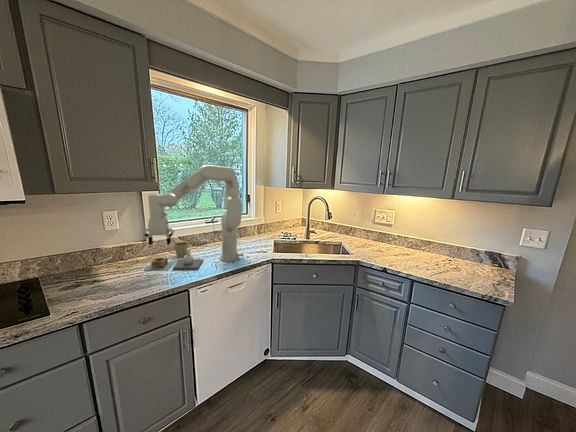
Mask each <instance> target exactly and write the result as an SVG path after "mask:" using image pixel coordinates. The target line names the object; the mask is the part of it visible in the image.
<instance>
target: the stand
mask: <svg viewBox="0 0 576 432" xmlns="http://www.w3.org/2000/svg"><path fill="white" fill-rule="evenodd" d="M203 263H204V259H203V258H198V259H197V258H194V255H193V254H191V248H187V255H185V256H184V257H183V258H180V259H179V260H178V261H177V262H176V263H175V264H174V266H172V271H198V270H199V269H200V267H201V266H202V264H203Z"/></svg>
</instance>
